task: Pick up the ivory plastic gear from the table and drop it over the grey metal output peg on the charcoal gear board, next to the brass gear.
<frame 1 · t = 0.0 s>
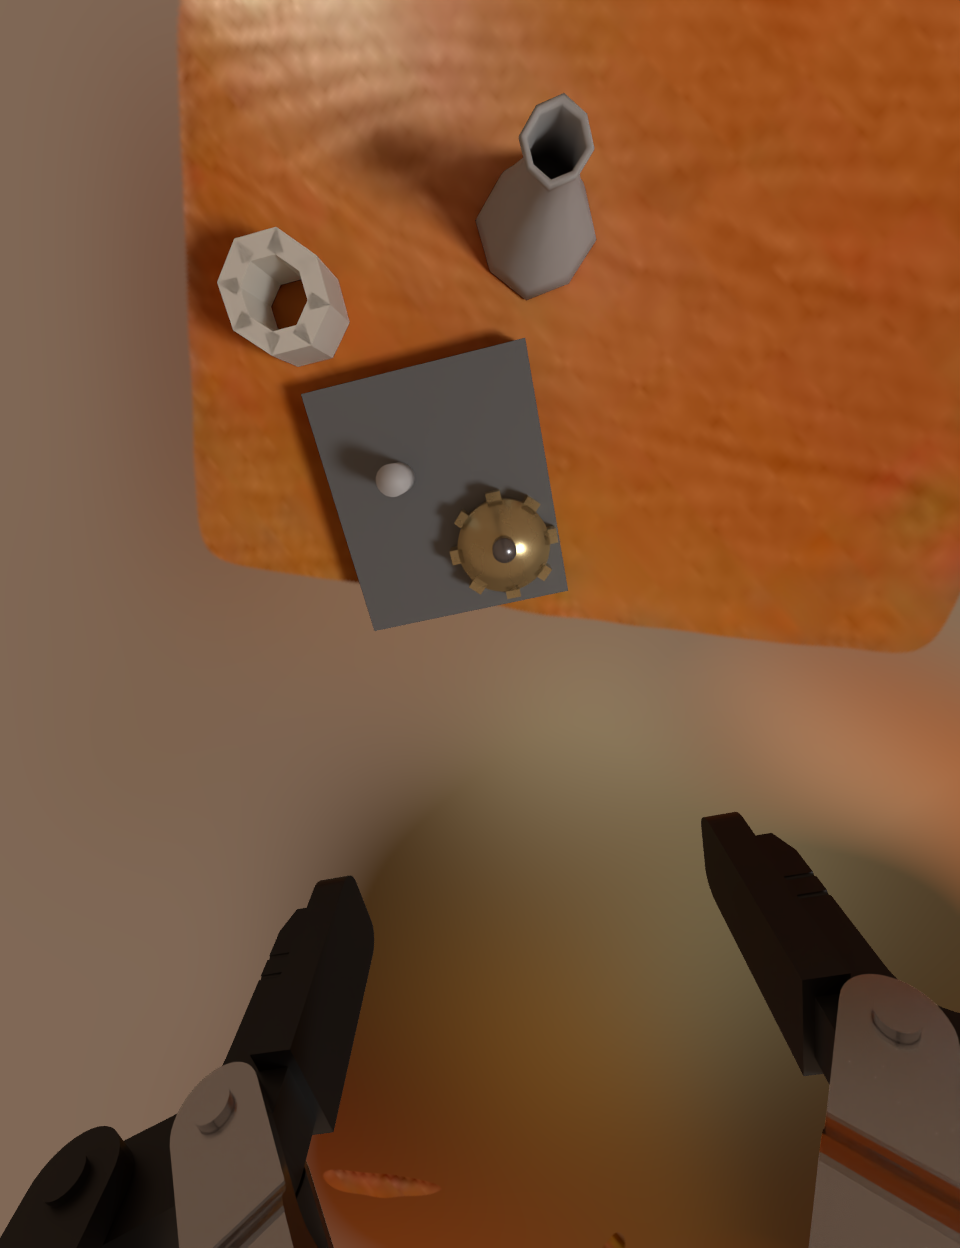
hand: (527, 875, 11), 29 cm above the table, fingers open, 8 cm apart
brass gear: (502, 538, 38), resting on gear board
flask: (535, 233, 32), on the table
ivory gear: (300, 312, 33), on the table
gear board: (444, 495, 37), on the table
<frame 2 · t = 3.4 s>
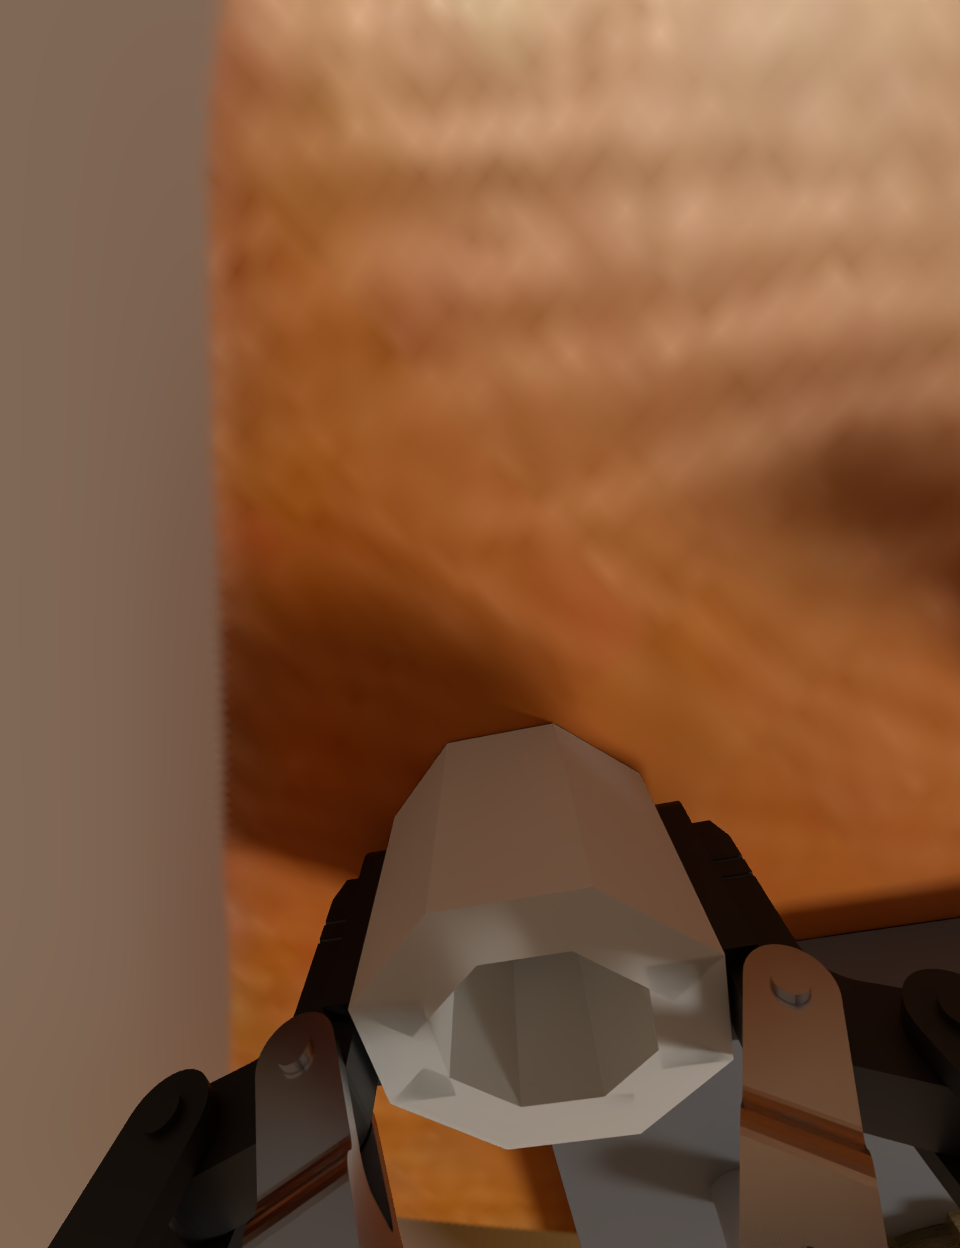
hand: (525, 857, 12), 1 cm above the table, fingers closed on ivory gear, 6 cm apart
brass gear: (903, 1185, 17), resting on gear board
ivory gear: (524, 835, 13), on the table, touching gripper
gear board: (797, 1128, 16), on the table
when the fingers open (4 cm above the table, at t = 8.8 s): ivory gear stays where it is, resting on gear board.
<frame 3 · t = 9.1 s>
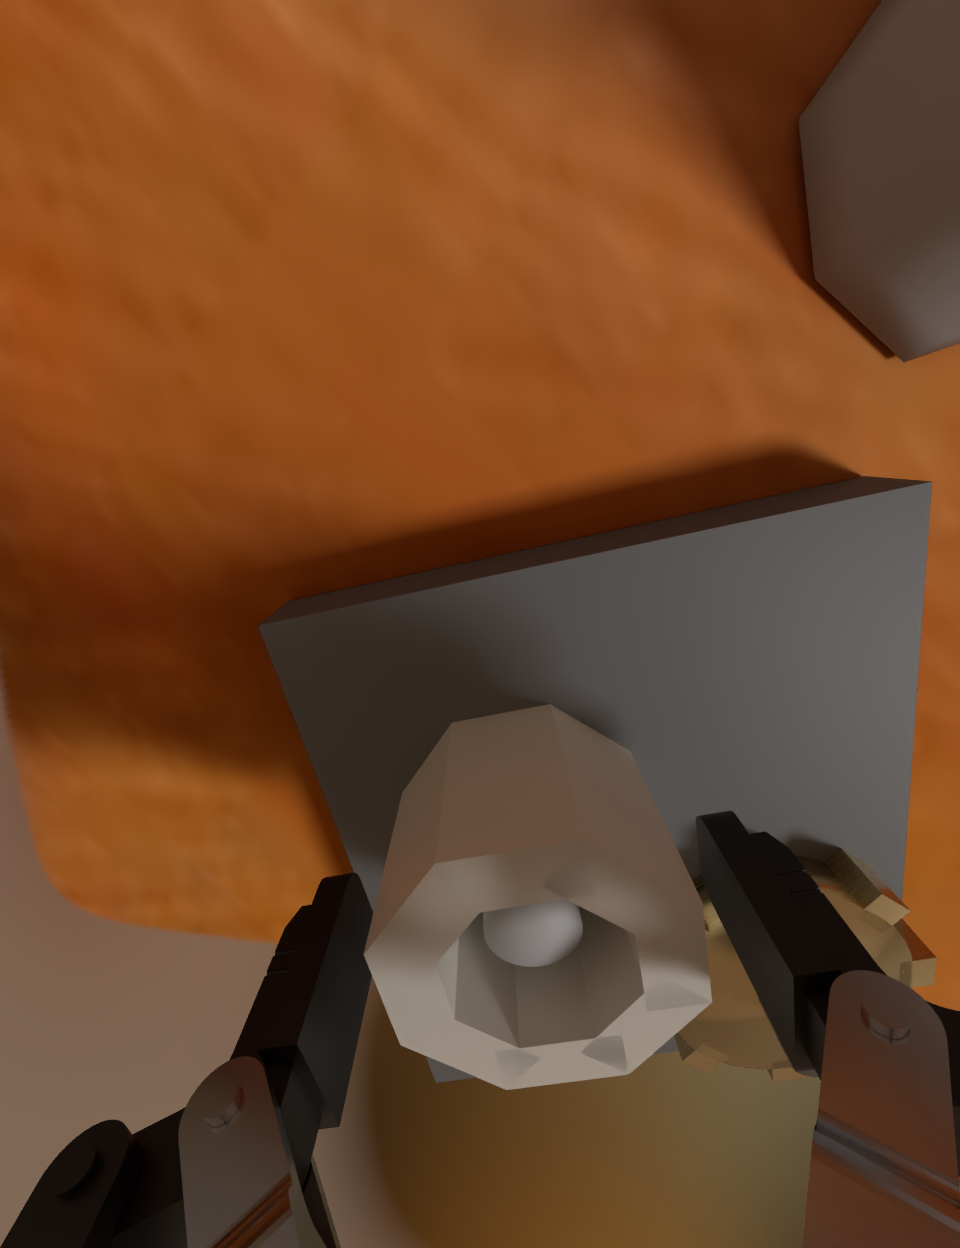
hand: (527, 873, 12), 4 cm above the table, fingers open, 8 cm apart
brass gear: (728, 884, 17), resting on gear board
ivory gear: (523, 810, 13), point 2 cm above the table, touching gear board
gear board: (607, 805, 16), on the table
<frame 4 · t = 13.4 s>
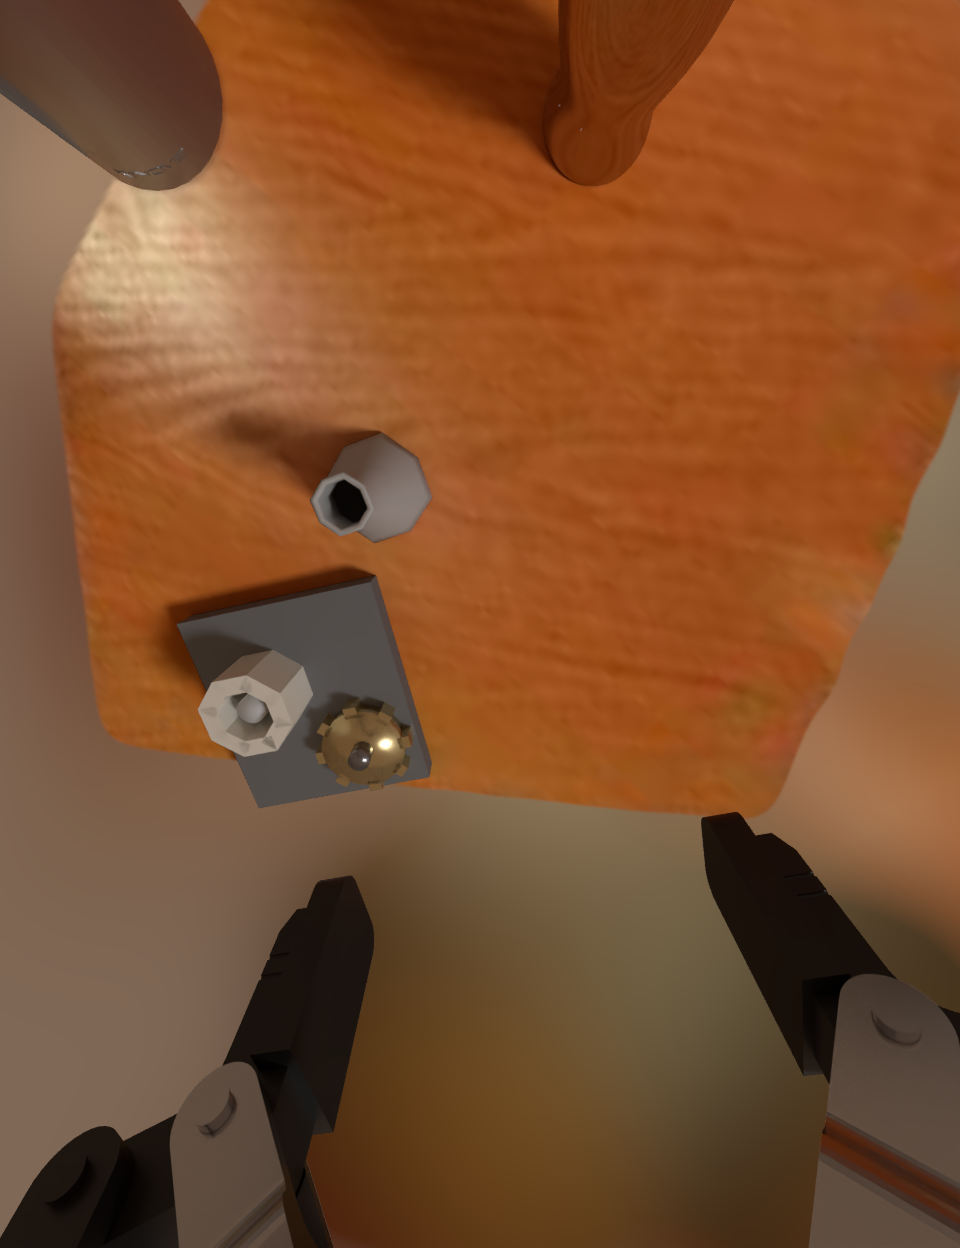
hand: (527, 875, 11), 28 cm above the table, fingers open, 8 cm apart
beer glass: (595, 124, 29), on the table
brass gear: (372, 726, 42), resting on gear board
flask: (379, 489, 36), on the table
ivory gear: (271, 687, 39), point 2 cm above the table, touching gear board
gear board: (317, 693, 41), on the table
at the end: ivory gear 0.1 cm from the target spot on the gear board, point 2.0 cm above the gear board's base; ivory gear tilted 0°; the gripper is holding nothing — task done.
